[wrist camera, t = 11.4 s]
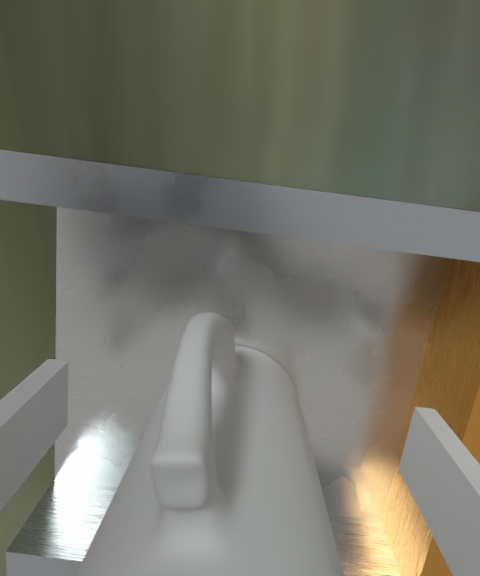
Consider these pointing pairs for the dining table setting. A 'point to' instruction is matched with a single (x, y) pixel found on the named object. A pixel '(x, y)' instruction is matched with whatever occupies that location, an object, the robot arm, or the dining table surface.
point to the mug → (219, 474)
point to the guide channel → (255, 336)
